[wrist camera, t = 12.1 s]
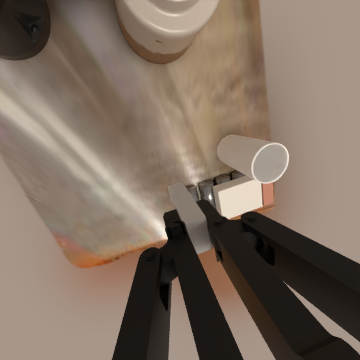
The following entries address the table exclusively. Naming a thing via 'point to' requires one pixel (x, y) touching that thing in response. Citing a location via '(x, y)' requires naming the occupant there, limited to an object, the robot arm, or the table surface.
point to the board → (237, 196)
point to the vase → (163, 25)
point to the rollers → (211, 187)
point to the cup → (254, 157)
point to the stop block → (267, 193)
